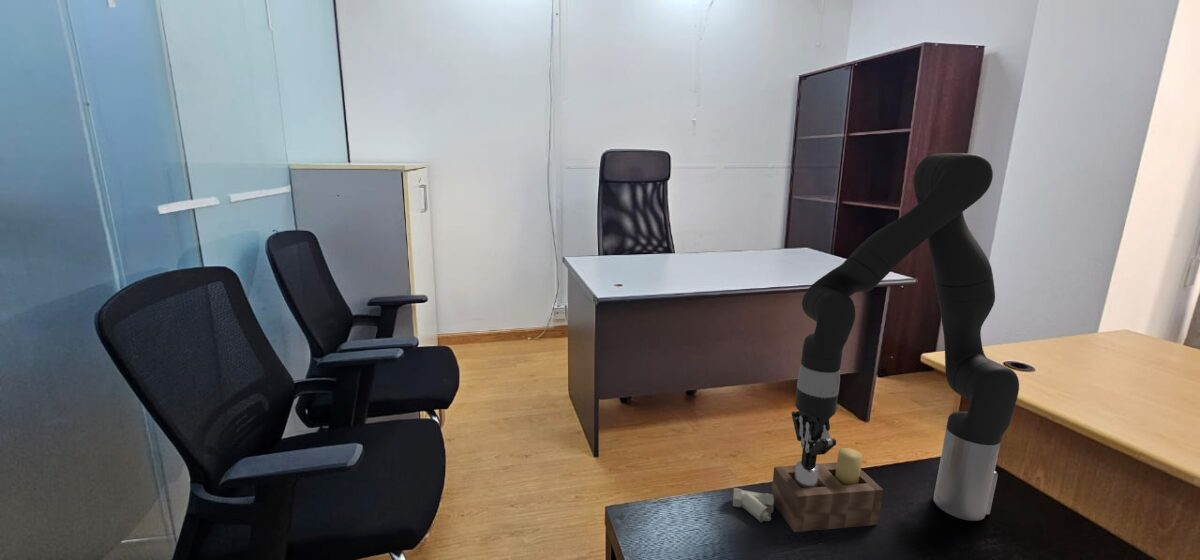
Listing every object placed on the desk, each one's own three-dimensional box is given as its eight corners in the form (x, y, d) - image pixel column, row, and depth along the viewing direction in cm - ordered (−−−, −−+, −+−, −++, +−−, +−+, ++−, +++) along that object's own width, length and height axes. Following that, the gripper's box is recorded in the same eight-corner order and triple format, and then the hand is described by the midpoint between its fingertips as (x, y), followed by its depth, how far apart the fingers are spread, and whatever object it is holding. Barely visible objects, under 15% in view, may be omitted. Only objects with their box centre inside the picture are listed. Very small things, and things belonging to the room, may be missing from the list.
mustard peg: (849, 479, 110) (853, 447, 108) (862, 492, 106) (867, 459, 104) (829, 480, 109) (834, 448, 108) (842, 493, 105) (846, 460, 104)
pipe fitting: (773, 528, 104) (771, 505, 110) (775, 512, 103) (773, 490, 109) (732, 521, 106) (732, 499, 112) (733, 505, 105) (734, 483, 111)
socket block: (847, 493, 114) (852, 461, 113) (877, 524, 105) (883, 489, 103) (770, 499, 112) (774, 466, 110) (794, 532, 102) (798, 496, 100)
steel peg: (808, 491, 109) (812, 460, 108) (819, 505, 105) (824, 472, 103) (788, 493, 109) (792, 461, 107) (799, 507, 104) (803, 473, 103)
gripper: (856, 402, 95) (844, 485, 99) (817, 373, 108) (807, 448, 112) (818, 403, 94) (807, 488, 98) (783, 374, 107) (775, 450, 111)
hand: (807, 466), depth 105 cm, fingers closed
